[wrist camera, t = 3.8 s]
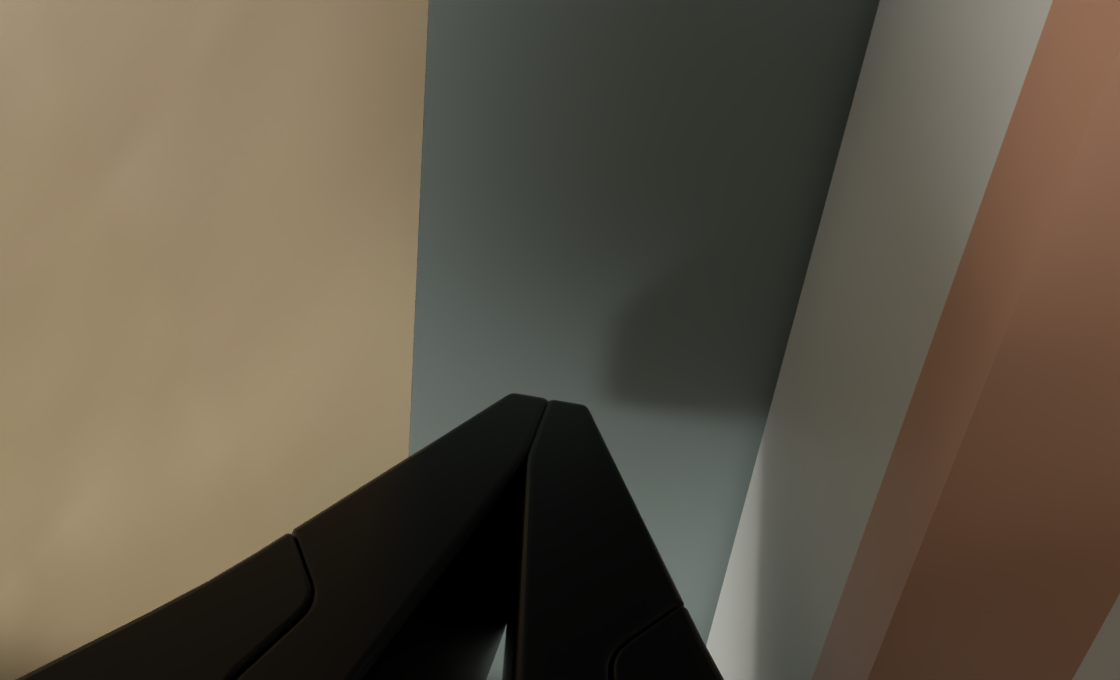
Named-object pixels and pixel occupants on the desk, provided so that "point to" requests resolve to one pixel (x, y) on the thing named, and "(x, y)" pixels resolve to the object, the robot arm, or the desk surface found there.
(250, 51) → the desk surface
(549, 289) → the housing base
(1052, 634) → the housing
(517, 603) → the robot arm
